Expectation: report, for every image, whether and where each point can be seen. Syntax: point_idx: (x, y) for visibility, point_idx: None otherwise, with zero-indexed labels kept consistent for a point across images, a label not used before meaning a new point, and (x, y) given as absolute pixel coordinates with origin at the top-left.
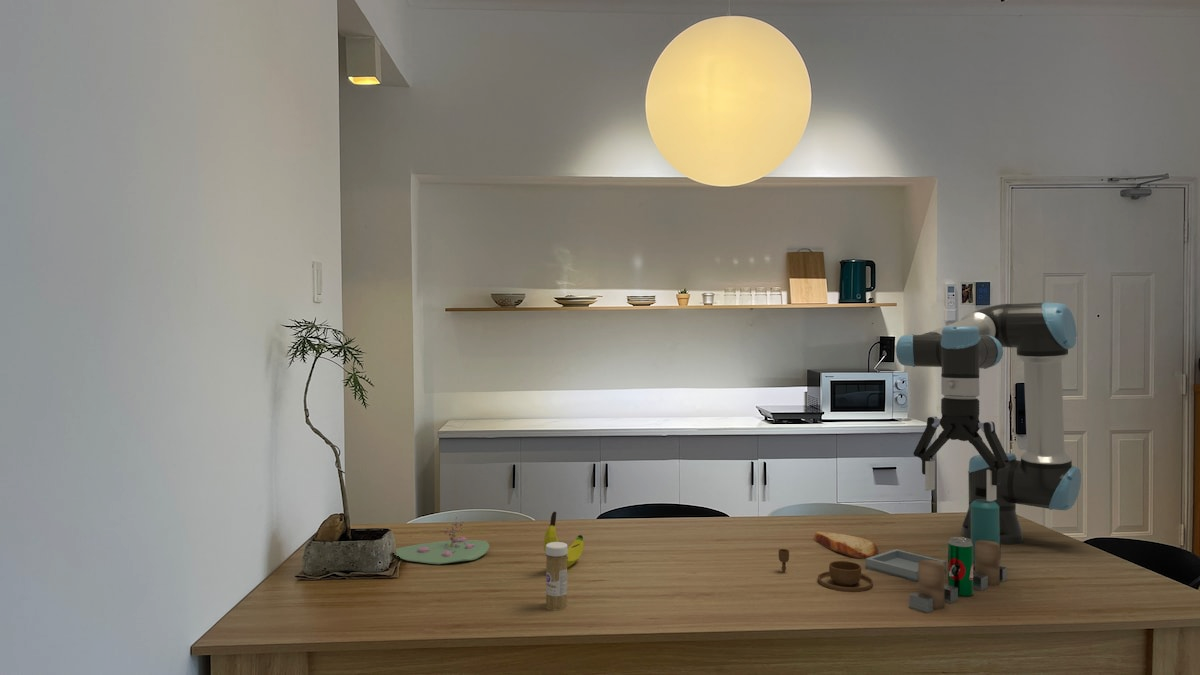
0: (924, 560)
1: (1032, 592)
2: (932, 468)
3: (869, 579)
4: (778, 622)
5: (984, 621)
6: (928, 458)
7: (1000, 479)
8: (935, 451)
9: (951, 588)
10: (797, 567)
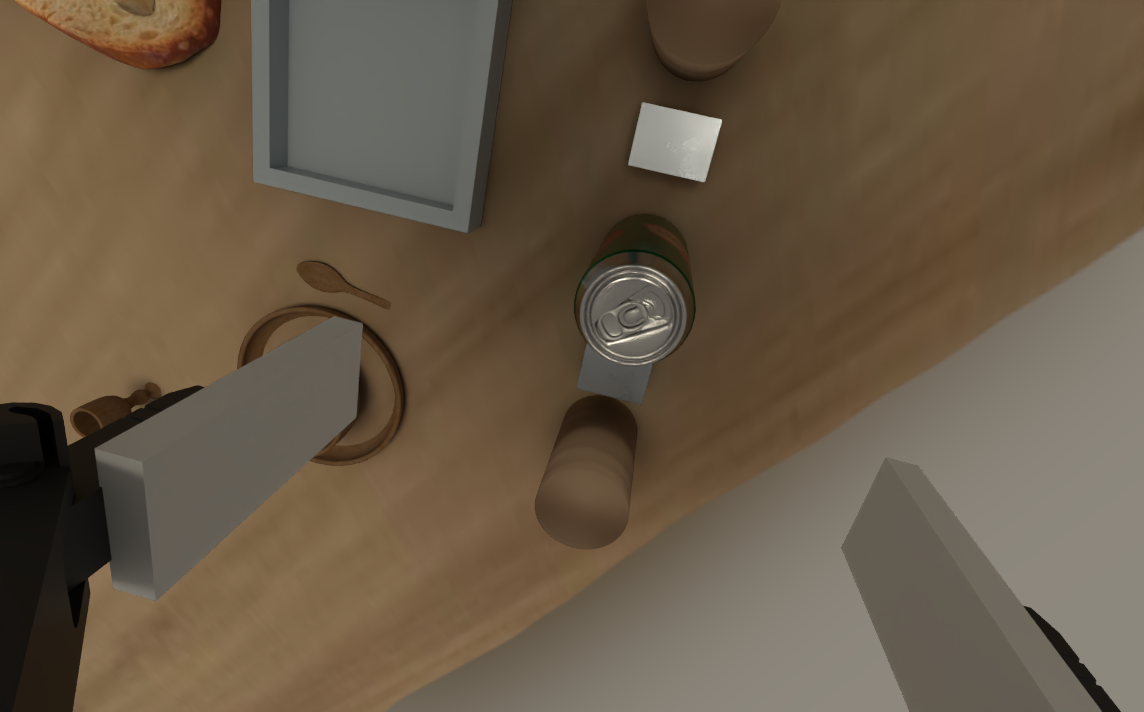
0: (548, 488)
1: (892, 33)
2: (226, 459)
3: (367, 339)
4: (372, 690)
5: (760, 464)
6: (76, 549)
7: (1082, 666)
8: (52, 671)
9: (638, 381)
10: (135, 312)
